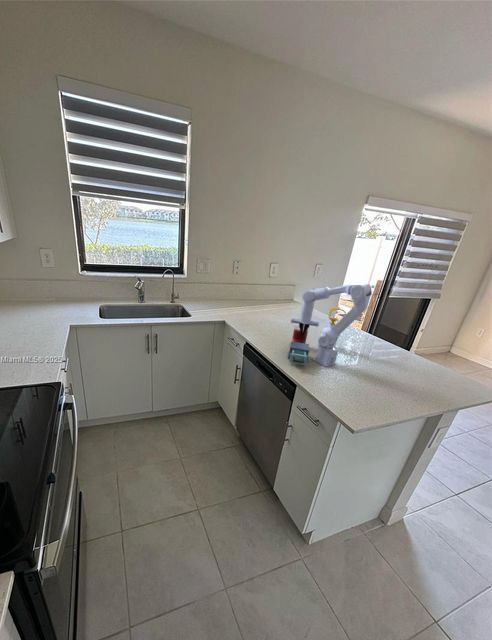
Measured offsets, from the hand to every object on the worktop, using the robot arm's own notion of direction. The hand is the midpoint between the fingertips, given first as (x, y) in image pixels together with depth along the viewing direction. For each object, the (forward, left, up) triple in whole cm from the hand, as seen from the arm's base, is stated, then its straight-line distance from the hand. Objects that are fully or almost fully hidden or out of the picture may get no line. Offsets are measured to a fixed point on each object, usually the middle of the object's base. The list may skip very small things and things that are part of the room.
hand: (301, 336), depth 159 cm
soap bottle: (0, -23, -10) cm, 25 cm away
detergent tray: (-11, +12, -8) cm, 18 cm away
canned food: (+8, -7, -10) cm, 14 cm away
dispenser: (-5, +5, -9) cm, 12 cm away
